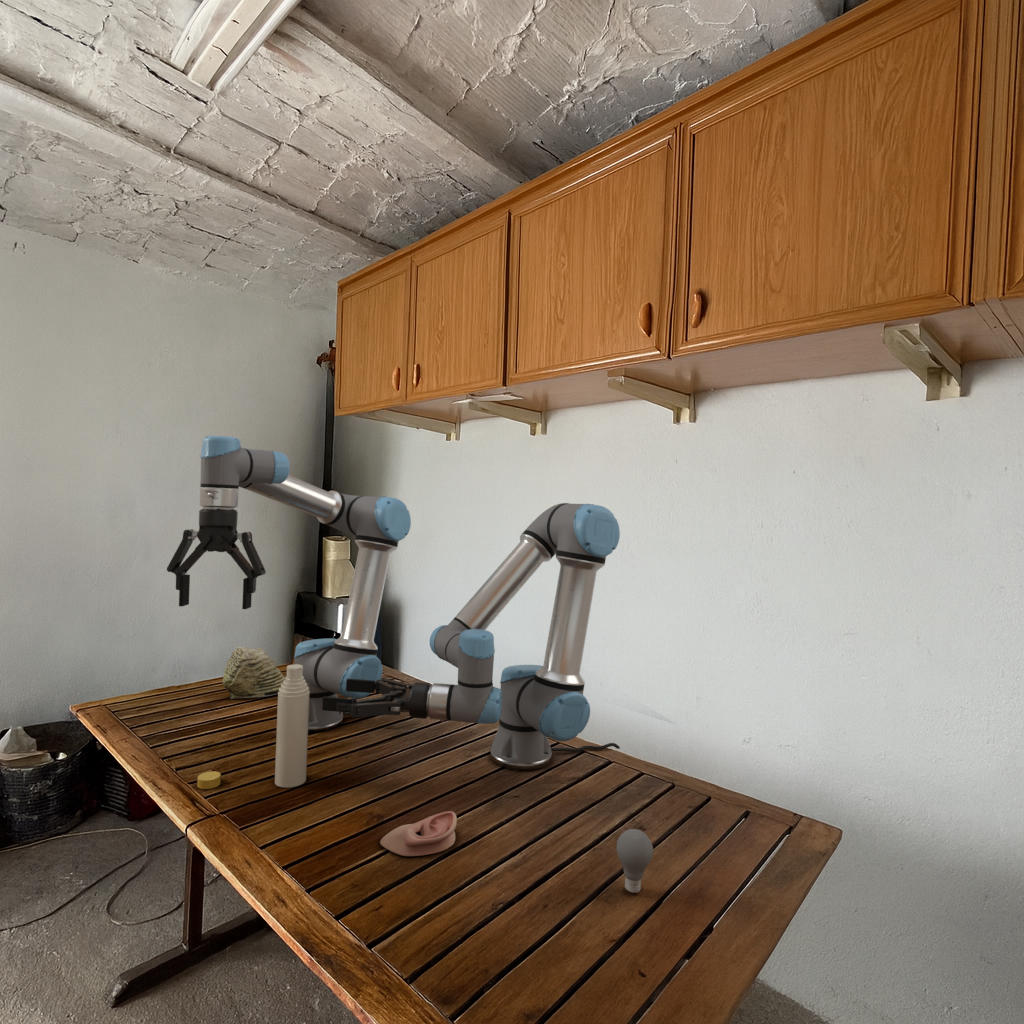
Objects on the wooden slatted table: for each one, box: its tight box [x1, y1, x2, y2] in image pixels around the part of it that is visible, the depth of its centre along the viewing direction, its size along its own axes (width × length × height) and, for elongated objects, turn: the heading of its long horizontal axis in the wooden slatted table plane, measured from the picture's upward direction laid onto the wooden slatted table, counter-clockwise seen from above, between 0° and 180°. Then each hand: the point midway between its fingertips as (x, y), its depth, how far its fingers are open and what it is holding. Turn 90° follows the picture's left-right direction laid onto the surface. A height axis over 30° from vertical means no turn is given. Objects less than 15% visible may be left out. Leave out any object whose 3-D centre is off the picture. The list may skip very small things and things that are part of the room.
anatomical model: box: [379, 810, 458, 857], centre depth 118 cm, size 13×4×12 cm
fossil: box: [222, 646, 286, 699], centre depth 198 cm, size 9×18×15 cm, turn 132°
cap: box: [196, 770, 222, 790], centre depth 137 cm, size 5×4×2 cm
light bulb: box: [615, 828, 654, 894], centre depth 106 cm, size 6×6×10 cm
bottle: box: [274, 663, 310, 789], centre depth 140 cm, size 7×7×26 cm
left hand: (215, 606), depth 136 cm, fingers open, 13 cm apart
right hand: (335, 693), depth 139 cm, fingers open, 13 cm apart
